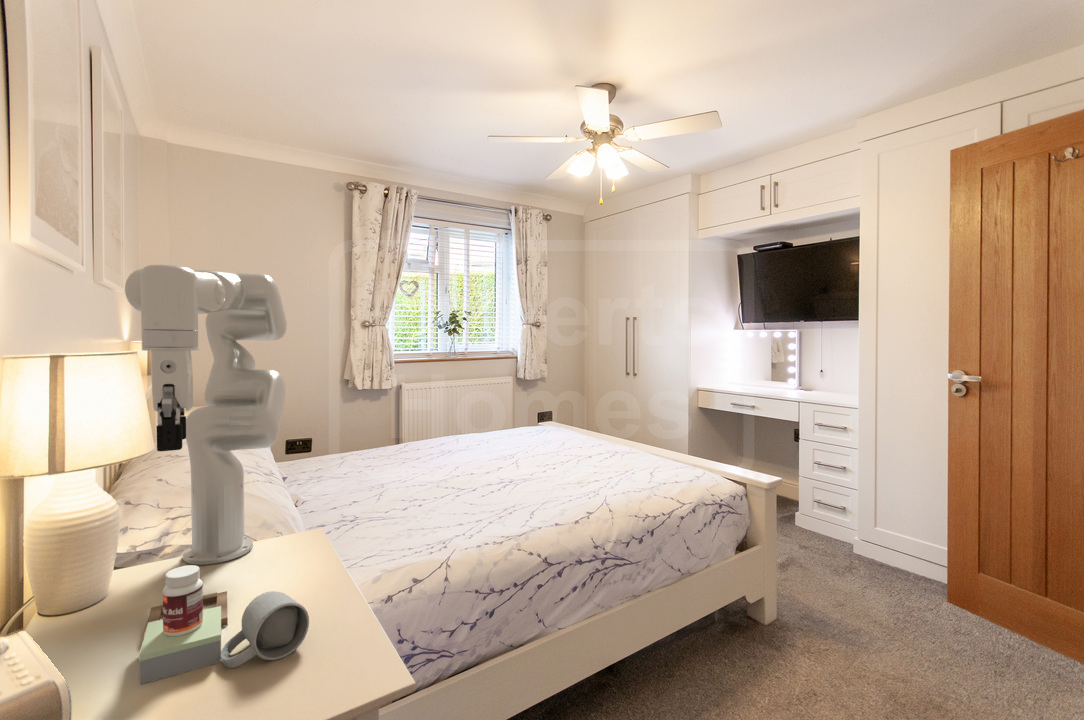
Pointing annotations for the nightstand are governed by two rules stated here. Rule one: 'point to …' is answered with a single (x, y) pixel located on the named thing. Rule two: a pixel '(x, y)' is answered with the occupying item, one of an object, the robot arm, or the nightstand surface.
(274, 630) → the ceramic mug
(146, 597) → the nightstand surface
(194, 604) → the pill bottle
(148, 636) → the green square block
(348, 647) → the nightstand surface
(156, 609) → the base
